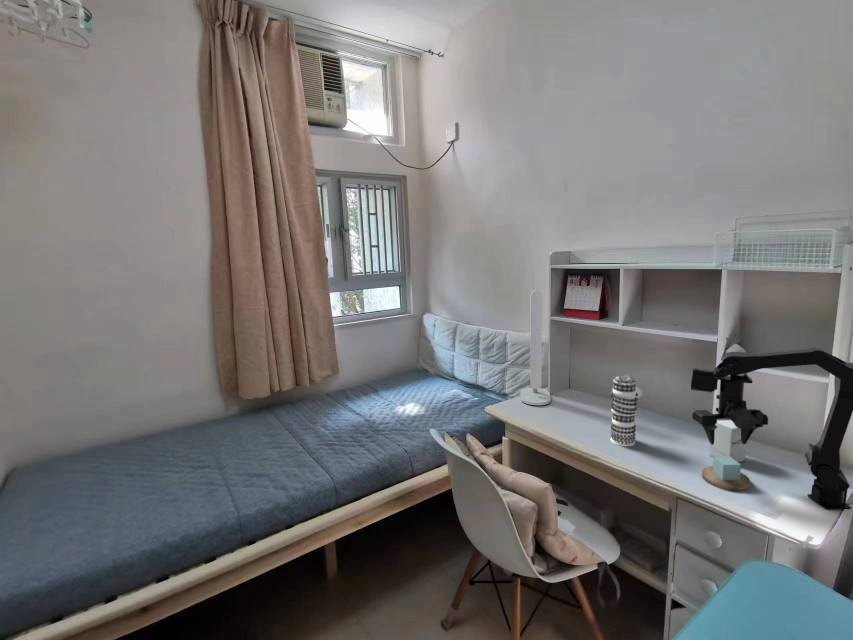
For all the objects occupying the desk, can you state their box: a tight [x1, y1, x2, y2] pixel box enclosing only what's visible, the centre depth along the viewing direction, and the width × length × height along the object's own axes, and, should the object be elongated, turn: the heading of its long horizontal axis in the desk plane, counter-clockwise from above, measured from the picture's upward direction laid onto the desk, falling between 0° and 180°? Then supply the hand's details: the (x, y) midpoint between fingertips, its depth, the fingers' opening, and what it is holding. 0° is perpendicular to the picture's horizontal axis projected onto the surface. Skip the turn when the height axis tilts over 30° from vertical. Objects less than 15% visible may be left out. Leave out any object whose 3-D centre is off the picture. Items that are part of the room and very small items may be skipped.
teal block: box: [712, 457, 742, 480], centre depth 129 cm, size 5×5×5 cm
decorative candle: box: [610, 375, 639, 447], centre depth 157 cm, size 9×9×25 cm
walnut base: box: [701, 465, 751, 492], centre depth 130 cm, size 12×12×2 cm
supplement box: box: [709, 420, 747, 463], centre depth 142 cm, size 7×7×13 cm
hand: (727, 444), depth 128 cm, fingers open, 9 cm apart
